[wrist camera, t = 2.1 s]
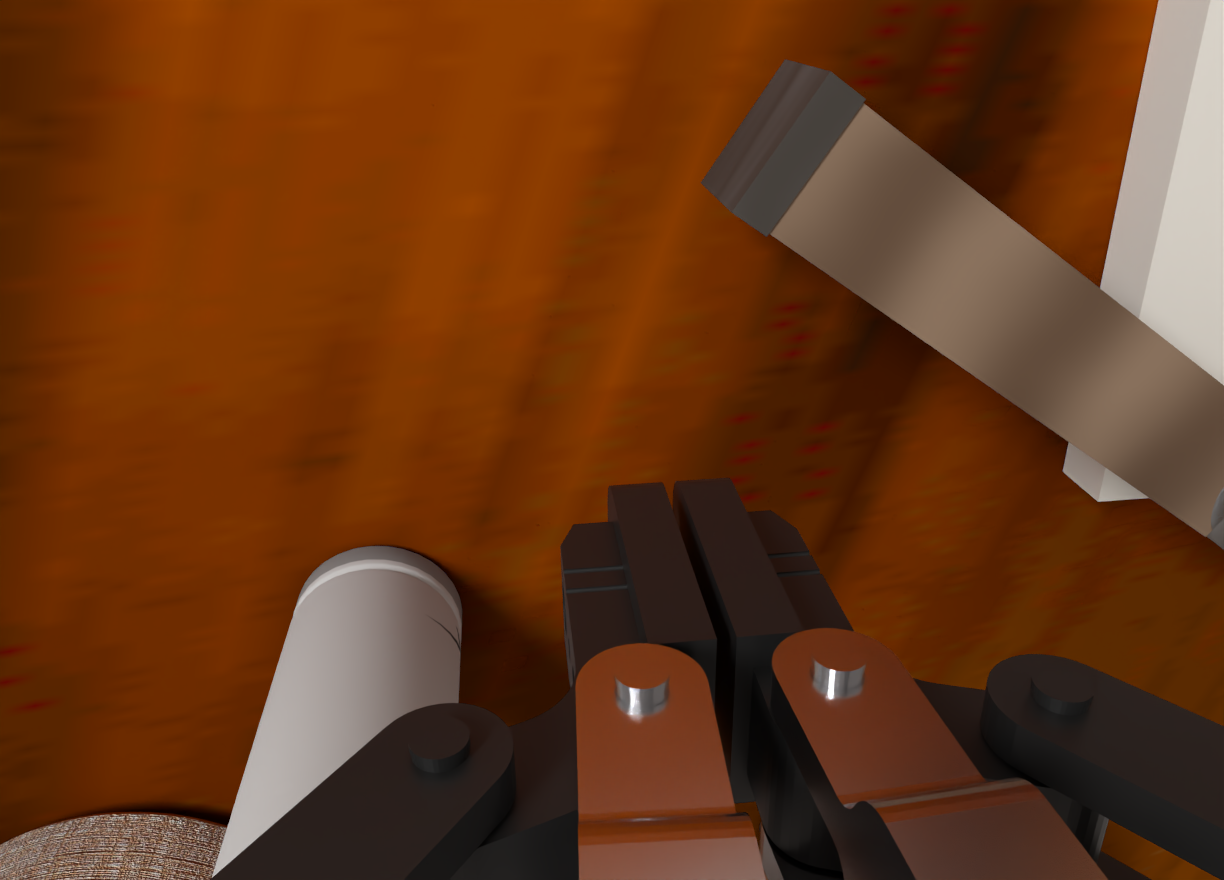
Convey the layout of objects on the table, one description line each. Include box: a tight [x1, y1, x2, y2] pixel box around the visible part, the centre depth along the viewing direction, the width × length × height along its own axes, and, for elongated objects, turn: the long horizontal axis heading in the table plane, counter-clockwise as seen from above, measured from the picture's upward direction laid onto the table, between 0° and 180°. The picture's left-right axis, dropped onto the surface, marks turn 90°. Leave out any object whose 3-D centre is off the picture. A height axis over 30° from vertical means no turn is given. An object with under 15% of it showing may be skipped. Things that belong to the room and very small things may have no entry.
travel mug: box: [212, 546, 462, 877], centre depth 29 cm, size 6×7×20 cm
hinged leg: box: [701, 60, 1224, 549], centre depth 31 cm, size 23×4×5 cm, turn 56°
